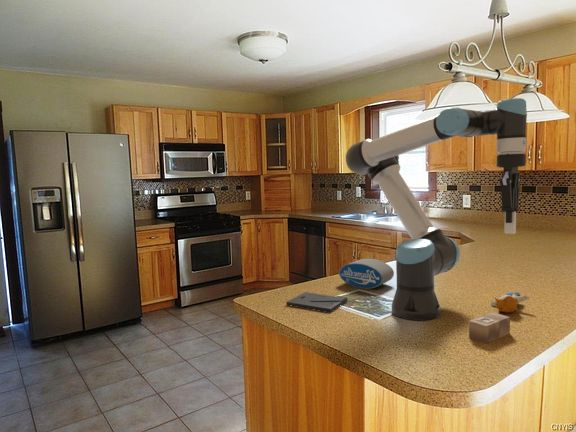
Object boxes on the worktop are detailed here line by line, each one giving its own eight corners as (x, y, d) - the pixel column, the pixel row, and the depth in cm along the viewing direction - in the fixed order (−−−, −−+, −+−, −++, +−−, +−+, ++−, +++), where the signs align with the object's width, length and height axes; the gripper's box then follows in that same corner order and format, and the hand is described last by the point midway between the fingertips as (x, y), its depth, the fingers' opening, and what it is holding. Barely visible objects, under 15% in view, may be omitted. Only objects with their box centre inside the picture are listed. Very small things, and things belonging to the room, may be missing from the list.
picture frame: (347, 303, 149) (305, 296, 159) (347, 297, 149) (304, 291, 158) (330, 314, 138) (286, 307, 147) (330, 308, 138) (286, 301, 147)
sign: (394, 285, 167) (393, 261, 166) (382, 291, 159) (382, 266, 158) (351, 279, 179) (351, 256, 178) (339, 284, 172) (338, 261, 170)
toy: (529, 285, 137) (520, 291, 125) (536, 303, 136) (528, 311, 124) (492, 293, 144) (481, 300, 132) (499, 310, 143) (488, 319, 131)
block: (492, 311, 118) (469, 319, 113) (509, 316, 114) (486, 325, 108) (492, 328, 119) (469, 338, 113) (509, 334, 115) (486, 344, 109)
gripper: (519, 152, 113) (517, 237, 115) (531, 152, 122) (529, 231, 125) (490, 154, 118) (489, 235, 120) (504, 154, 127) (503, 229, 130)
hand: (510, 233), depth 123 cm, fingers closed
